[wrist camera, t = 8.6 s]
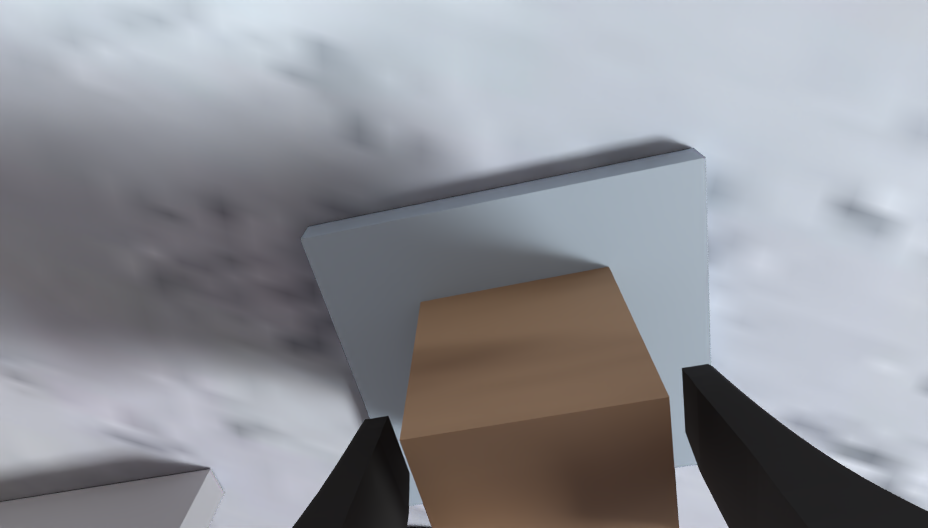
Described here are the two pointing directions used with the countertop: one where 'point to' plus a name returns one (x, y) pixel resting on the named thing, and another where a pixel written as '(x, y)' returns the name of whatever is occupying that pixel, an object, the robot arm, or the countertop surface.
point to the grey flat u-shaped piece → (122, 505)
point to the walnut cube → (538, 410)
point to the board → (524, 267)
